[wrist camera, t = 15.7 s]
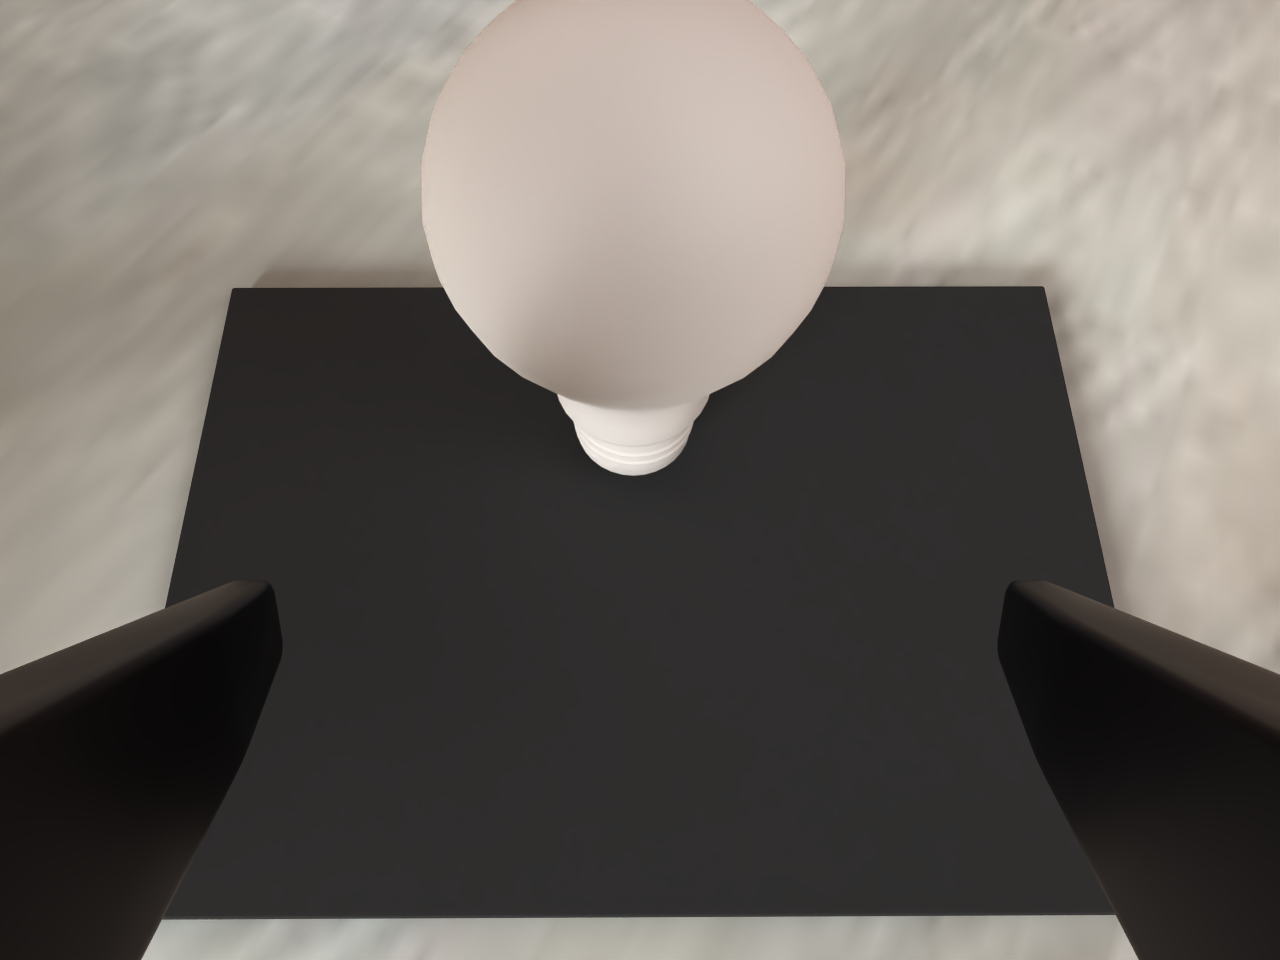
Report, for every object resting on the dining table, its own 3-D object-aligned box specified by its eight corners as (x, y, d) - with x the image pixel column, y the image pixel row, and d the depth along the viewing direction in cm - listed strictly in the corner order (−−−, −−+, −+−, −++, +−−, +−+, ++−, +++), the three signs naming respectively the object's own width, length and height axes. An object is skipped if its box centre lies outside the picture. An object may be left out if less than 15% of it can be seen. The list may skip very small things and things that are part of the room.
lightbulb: (668, 285, 22) (696, -200, 12) (822, 474, 20) (1008, 79, 10) (449, 406, 21) (280, -29, 11) (592, 621, 19) (546, 333, 9)
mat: (1168, 913, 17) (1182, 914, 17) (112, 918, 17) (97, 920, 17) (1036, 297, 23) (1044, 285, 22) (239, 298, 23) (232, 286, 22)
